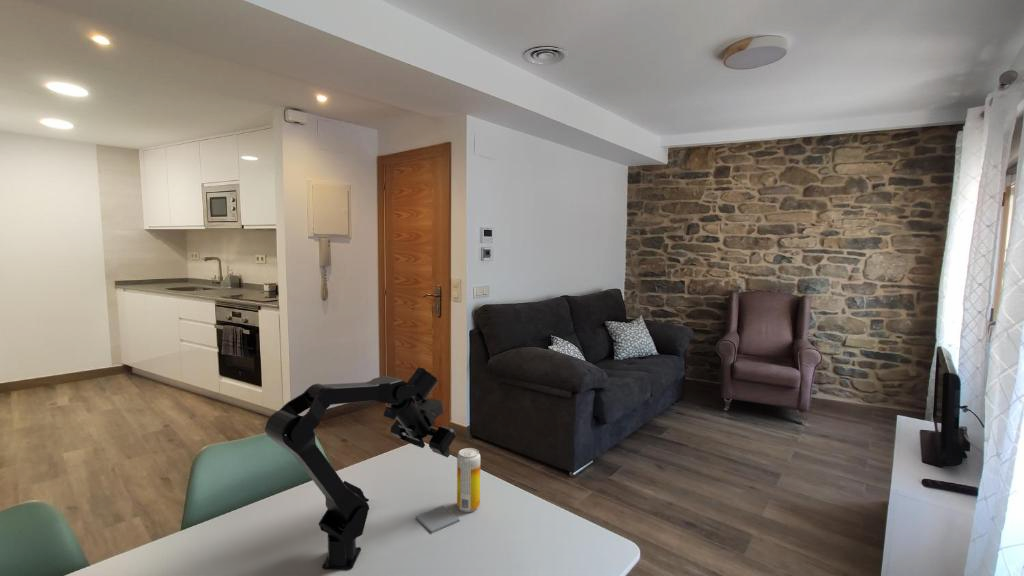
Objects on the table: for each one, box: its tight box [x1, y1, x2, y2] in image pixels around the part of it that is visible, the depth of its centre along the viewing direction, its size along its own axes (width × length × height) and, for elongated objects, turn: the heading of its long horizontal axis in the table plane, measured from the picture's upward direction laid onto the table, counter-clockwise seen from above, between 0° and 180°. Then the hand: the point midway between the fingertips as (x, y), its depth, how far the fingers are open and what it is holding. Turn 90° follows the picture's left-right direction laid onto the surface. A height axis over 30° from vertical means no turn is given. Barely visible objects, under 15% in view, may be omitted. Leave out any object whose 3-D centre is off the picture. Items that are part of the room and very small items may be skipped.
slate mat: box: [415, 505, 461, 534], centre depth 117 cm, size 8×8×1 cm
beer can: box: [456, 447, 481, 513], centre depth 123 cm, size 6×6×15 cm
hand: (435, 451), depth 124 cm, fingers open, 9 cm apart
